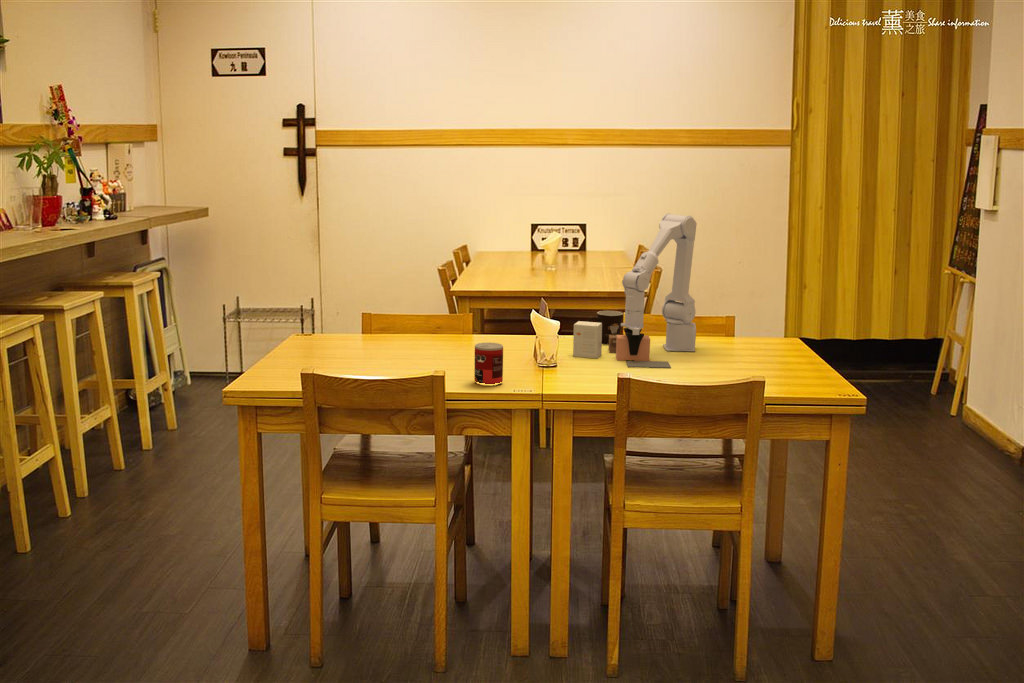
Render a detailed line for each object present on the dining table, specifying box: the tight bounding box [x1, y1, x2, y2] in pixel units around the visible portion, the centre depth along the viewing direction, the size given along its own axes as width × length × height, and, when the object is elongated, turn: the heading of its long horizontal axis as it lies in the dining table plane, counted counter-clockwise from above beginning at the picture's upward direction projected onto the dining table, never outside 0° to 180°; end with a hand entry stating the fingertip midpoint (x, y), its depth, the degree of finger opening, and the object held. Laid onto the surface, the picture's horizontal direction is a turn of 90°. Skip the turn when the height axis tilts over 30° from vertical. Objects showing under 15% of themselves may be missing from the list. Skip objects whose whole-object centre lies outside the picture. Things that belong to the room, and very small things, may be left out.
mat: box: [625, 360, 672, 369], centre depth 317 cm, size 13×7×1 cm, turn 89°
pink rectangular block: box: [615, 334, 651, 361], centre depth 324 cm, size 10×5×7 cm, turn 89°
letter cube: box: [608, 335, 617, 354], centre depth 334 cm, size 5×5×5 cm
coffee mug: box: [587, 310, 624, 346], centre depth 346 cm, size 12×9×10 cm
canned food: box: [474, 342, 504, 384], centre depth 292 cm, size 8×8×11 cm
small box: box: [572, 320, 603, 359], centre depth 327 cm, size 8×6×10 cm
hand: (632, 352), depth 325 cm, fingers closed on pink rectangular block, 5 cm apart
